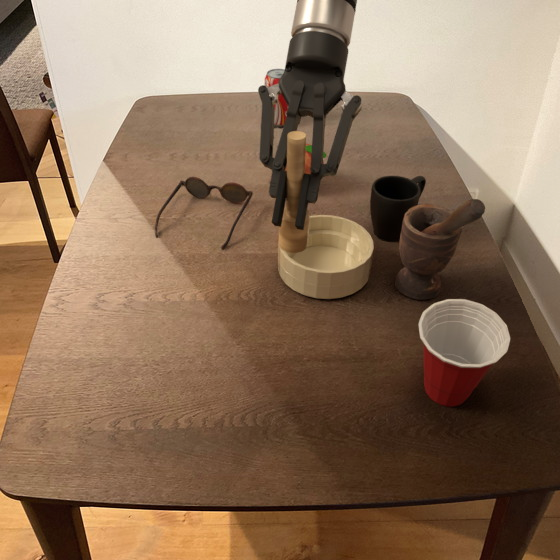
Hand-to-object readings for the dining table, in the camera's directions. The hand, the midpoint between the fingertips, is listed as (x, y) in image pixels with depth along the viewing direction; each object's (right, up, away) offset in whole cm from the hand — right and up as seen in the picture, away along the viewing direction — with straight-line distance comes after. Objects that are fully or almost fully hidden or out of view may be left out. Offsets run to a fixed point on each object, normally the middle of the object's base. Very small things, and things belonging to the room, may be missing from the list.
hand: (287, 225), depth 71 cm
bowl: (+6, -5, +25) cm, 26 cm away
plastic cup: (+21, -22, +6) cm, 31 cm away
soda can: (-1, +31, +67) cm, 73 cm away
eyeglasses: (-15, +4, +36) cm, 39 cm away
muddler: (+1, -2, +7) cm, 7 cm away
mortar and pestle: (+23, -9, +22) cm, 32 cm away
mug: (+20, +3, +34) cm, 40 cm away
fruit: (+3, +12, +45) cm, 47 cm away
